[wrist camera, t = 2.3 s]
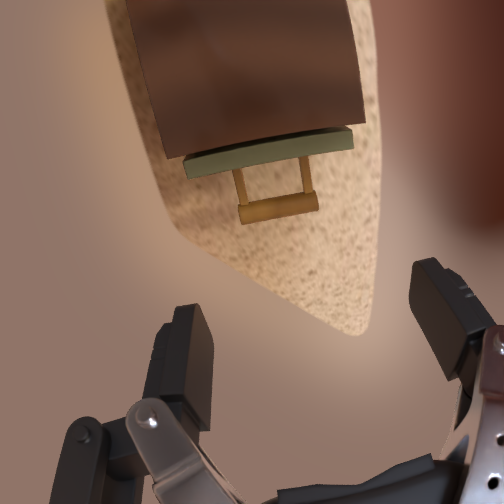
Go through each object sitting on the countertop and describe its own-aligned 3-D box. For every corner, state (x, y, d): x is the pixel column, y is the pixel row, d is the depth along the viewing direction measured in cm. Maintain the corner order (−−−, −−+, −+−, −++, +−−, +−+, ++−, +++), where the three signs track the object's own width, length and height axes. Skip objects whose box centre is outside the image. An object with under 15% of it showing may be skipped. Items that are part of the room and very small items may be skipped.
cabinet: (326, 104, 24) (366, 123, 16) (189, 129, 24) (167, 160, 17) (293, -49, 16) (318, -94, 9) (152, -22, 17) (114, -56, 9)
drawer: (331, 182, 26) (358, 221, 20) (215, 204, 27) (208, 249, 21) (295, -25, 17) (316, -55, 11) (163, 0, 18) (136, -22, 12)
